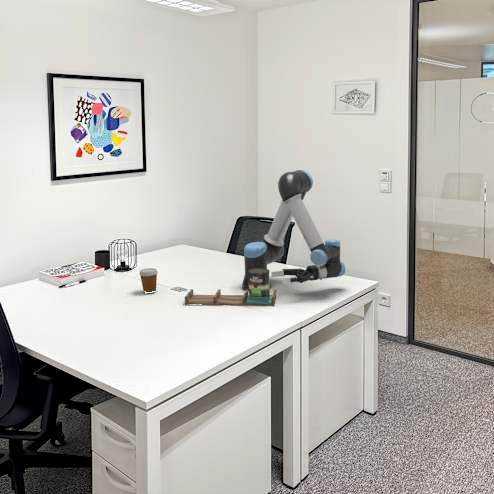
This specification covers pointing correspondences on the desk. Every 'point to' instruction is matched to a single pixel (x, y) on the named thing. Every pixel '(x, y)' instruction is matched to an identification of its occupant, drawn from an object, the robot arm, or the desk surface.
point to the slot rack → (230, 299)
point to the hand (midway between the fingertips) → (277, 277)
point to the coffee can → (259, 282)
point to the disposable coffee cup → (149, 279)
